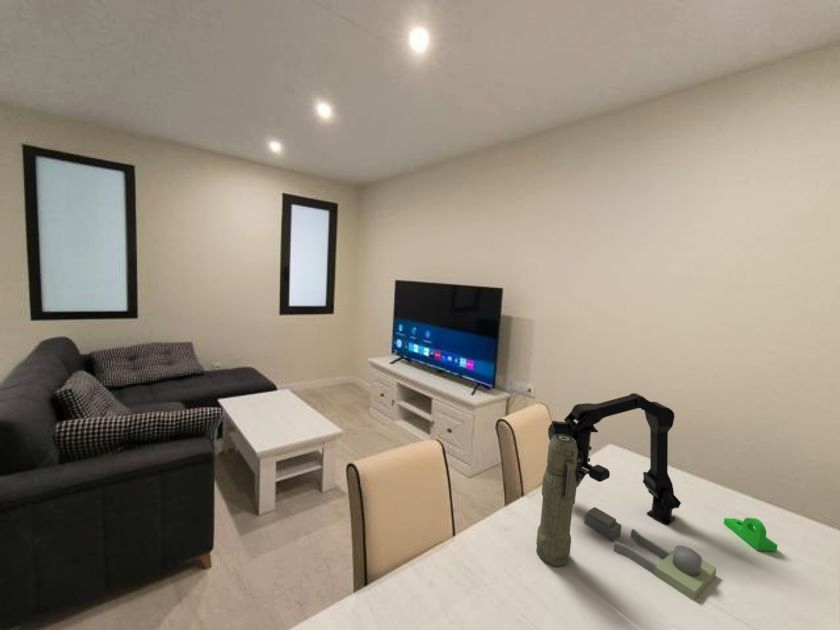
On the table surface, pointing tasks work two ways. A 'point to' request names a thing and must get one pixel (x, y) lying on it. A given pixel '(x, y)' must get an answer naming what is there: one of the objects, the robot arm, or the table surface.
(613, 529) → the two tier gray step
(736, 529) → the mechanical part
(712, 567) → the green block with prongs
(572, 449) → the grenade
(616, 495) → the table surface
